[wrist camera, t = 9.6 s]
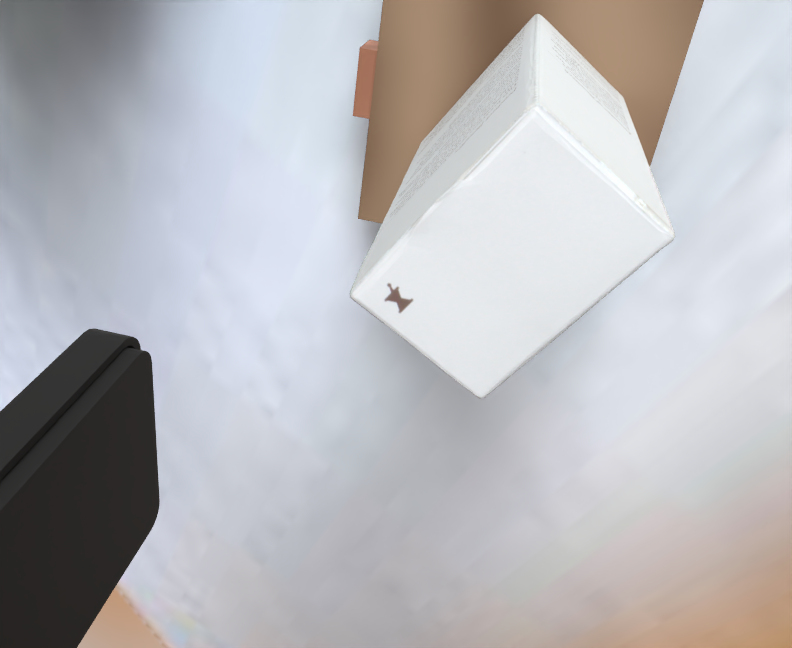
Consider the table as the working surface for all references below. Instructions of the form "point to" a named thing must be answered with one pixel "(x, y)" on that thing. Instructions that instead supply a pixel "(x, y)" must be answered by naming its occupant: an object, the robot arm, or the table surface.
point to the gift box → (480, 45)
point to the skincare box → (514, 214)
